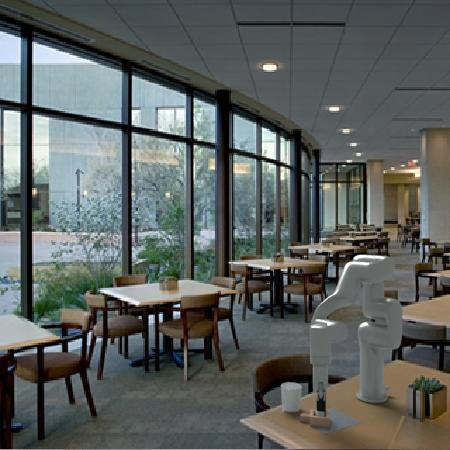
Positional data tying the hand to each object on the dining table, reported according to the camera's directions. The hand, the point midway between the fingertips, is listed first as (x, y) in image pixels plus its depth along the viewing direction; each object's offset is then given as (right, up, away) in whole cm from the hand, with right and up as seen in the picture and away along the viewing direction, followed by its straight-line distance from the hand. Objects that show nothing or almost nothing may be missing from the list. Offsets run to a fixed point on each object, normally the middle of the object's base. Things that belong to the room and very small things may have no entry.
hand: (321, 405), depth 172 cm
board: (+3, -7, +2) cm, 8 cm away
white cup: (-9, -7, +12) cm, 17 cm away
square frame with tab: (-2, -6, 0) cm, 6 cm away
